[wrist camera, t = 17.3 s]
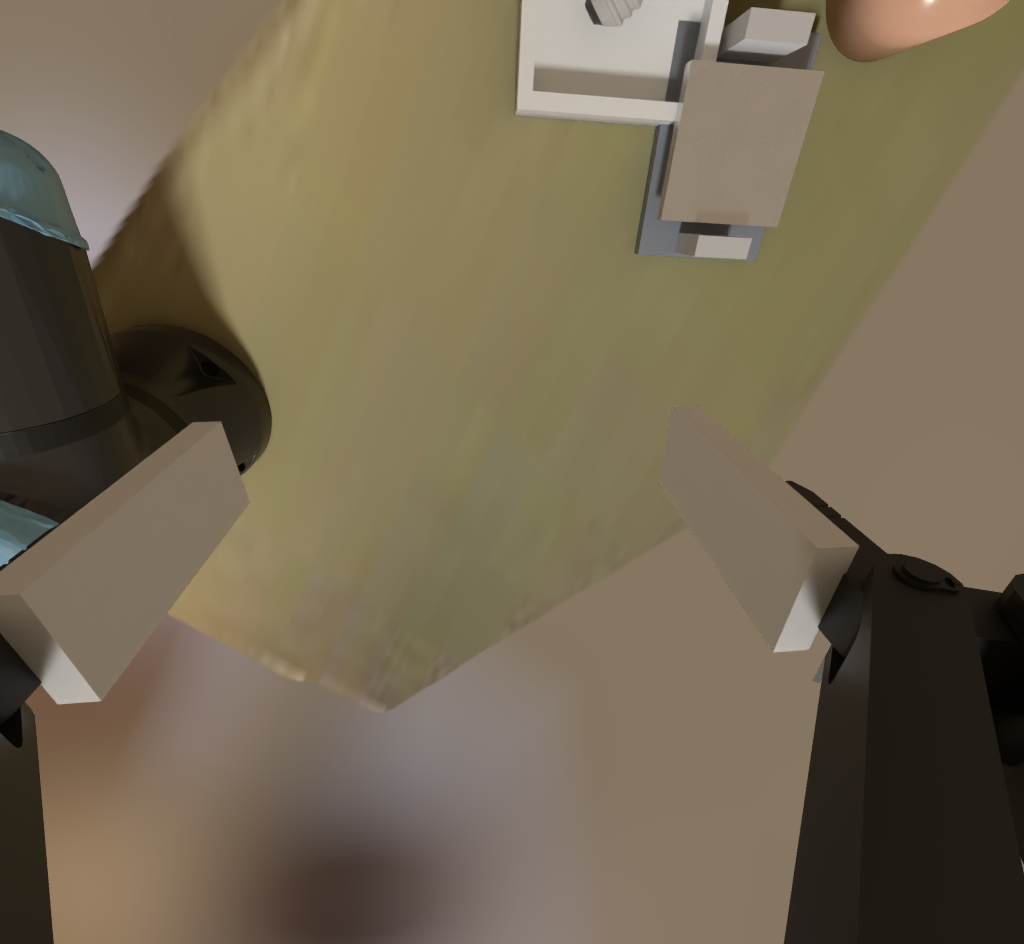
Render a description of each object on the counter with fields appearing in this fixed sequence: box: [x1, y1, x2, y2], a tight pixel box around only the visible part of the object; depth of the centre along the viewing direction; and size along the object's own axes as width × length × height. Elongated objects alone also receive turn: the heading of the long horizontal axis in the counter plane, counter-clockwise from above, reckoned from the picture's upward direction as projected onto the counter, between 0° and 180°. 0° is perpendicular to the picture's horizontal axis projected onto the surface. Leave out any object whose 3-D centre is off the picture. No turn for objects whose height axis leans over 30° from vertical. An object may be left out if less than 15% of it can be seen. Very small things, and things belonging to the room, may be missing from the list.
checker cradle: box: [635, 7, 823, 261], centre depth 32 cm, size 10×14×5 cm
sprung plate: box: [657, 60, 825, 227], centre depth 32 cm, size 9×9×1 cm
